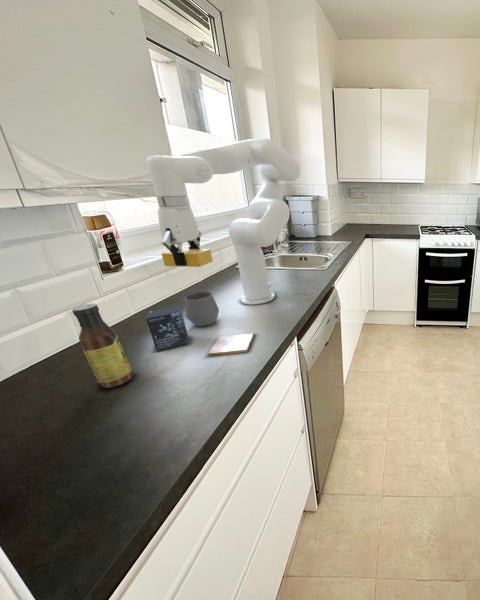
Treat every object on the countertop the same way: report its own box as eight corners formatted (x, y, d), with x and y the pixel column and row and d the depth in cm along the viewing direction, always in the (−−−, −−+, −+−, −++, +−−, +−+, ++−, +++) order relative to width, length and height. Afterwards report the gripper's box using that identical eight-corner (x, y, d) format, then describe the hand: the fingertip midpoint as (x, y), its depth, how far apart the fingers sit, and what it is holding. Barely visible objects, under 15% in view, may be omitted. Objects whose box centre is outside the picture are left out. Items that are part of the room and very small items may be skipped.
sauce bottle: (140, 376, 78) (112, 303, 70) (111, 392, 72) (78, 314, 65) (122, 371, 80) (93, 299, 72) (93, 386, 74) (58, 310, 67)
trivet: (219, 338, 96) (218, 336, 95) (254, 335, 98) (253, 333, 97) (208, 356, 86) (207, 353, 86) (247, 351, 89) (246, 349, 88)
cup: (186, 331, 100) (178, 302, 96) (191, 319, 108) (184, 292, 104) (220, 326, 103) (213, 298, 100) (222, 315, 111) (216, 289, 107)
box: (156, 352, 88) (145, 318, 84) (157, 343, 93) (146, 311, 89) (189, 344, 92) (179, 311, 88) (188, 336, 97) (179, 305, 93)
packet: (179, 260, 101) (176, 248, 99) (212, 261, 100) (210, 249, 99) (164, 266, 95) (161, 253, 93) (200, 266, 94) (197, 253, 93)
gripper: (181, 200, 99) (195, 255, 106) (137, 205, 83) (156, 270, 89) (204, 200, 99) (217, 255, 105) (164, 205, 83) (182, 270, 89)
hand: (189, 261), depth 97 cm, fingers closed on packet, 6 cm apart
